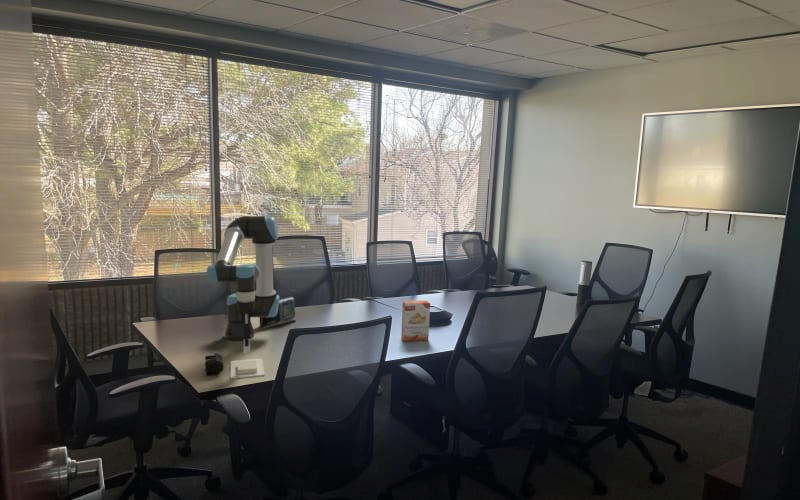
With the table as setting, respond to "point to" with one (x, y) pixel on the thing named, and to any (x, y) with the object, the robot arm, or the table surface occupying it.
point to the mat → (235, 374)
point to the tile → (247, 367)
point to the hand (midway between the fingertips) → (246, 352)
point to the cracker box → (415, 320)
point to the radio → (280, 314)
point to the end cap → (213, 364)
